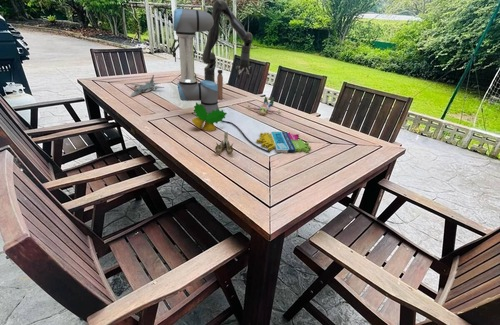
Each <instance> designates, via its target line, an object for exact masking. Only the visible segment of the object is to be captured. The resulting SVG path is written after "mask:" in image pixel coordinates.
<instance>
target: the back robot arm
mask: <svg viewBox="0 0 500 325" xmlns="http://www.w3.org/2000/svg"><path fill="white" fill-rule="evenodd" d="M222 15H224V16H225V17H226V18H227V20H228V21H229V23H230V26H231V28H232V29H233V30H234V31H235V32H236V33H237V35H238V37H239V39H240V40H241V41H242V42H243V44H242V45H241V50H240V51H241V52H240V58H239V65H236V66H235V72H234V73H235V74H236V75H237V76H236V77H237V79H238V80H240V79H241V78H240V77H241V73H242V72H243V73H244V72H245V73H246V80H249V79H250V75H252V71H253V66H251V65H250V58H251V56H250V53H251V47H252V43H253V34H252V33H251V32H250V31H246V30H245V26H244V25H243V24H242V22H241V21H240V20H239V19H238V18H237V16H235V14H234V13H233V11H232V9H231V8H230V6H229V4H228V3H227V2H226V1H225V0H215V1H214V2H213V5H212V10H211V16H212V17H213V20H214V24H213V27H212V28H211V29H210V30H208V33H207V37H206V42H205V46H204V49H203V52H202V56H201V60H202V62H203V64H207V65H206V66H205V67H204V80H207V81H212V82H215V80H216V79H215V69H216V61H217V60H216V59H217V57H216V55H215V53H214V52H213V51H212V50H213V48H214V47H215V46H216V44H217V43H218V41H219V38H220V35H221V34H220V33H221V27H220V19H221V16H222ZM194 75H195V79H196V80H197V82H200V81H201V80H200V79H198V78H197V74H196V73H195V72H194ZM215 83H216V82H215Z"/></svg>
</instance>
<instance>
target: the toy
mask: <svg viewBox="0 0 500 325" xmlns="http://www.w3.org/2000/svg"><path fill="white" fill-rule="evenodd" d="M274 100H275V98H274V97H271V98H270V101H268V97H267V96H266V95H265V96H264V99H263V104H261V105H260V107H251V106H250V105H248V106H246V110H254V111H258V112H257V113H258V114H259V115H261V116H265V115H267V112H270V113H276V114H279V115H282V113H283V111H281V109H278V110H274V109H270V107H271V106H273V105H274V102H275V101H274Z"/></svg>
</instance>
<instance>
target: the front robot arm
mask: <svg viewBox="0 0 500 325" xmlns="http://www.w3.org/2000/svg"><path fill="white" fill-rule="evenodd" d="M172 20H173V22H172V23H173V24H172V30H173V31H174V32H175V35H176V37H177V39H176V38H174V39H173V43H172V46H171V48H170V53H172V57H173V58H174V62H177V57H176V56H177V54H176V52H177V50H179V63H180V79H178V82H176V86H177V90H178V91H177V92H178V95H179V99H180V100H181V101H183V102H184V101H185V102H192V101H193V102H194V101H195V102H196V101H198V102H199V101H200V104H201V106H204V109H206V112H208V113H211V112H212V110H214V111H216V110H217V109H219V111H221V110H220V108H219V102H218V100H219V99H218V86H217V82H212V81H207V80H205V79H202V80H200V81H199V82H198V80H197V78H195V74H194V73H195V54H196V53H197V50H196V48H195V46H194V38H195V37H196V33H203V32H207V31H209V30H210V29H211V28H212V27H213V24H214V20H213V17H212V14H210V13H209V12H207V11H205V10H201V9H188V8H175V9H174V10H173V19H172ZM176 43H178V44H177V45H176ZM208 113H207V115H208ZM222 123H227V124H231V125H233V126H234V127H235V128H236V129H238V131H239V132H240V133H241V134H242V135H243V137H244V138H245V139H246V141H248V142H249V143H250V144H251V145H253V146H255V147H256V148H258V149H259V150H262V151H264V152H266V153H270V152H271V150H270V151H268V149H266V148H263V147H262V146H261V147H260V146H258V145H257V144H255V143H254V142H253V141H251V140H250V139H249V138H248V137H247V136H246V135H245V133H244V132H243V131H242V129H240V128H239V126H237V125H236V124H235V123H234V122H231V121H226V120H222Z"/></svg>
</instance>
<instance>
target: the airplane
mask: <svg viewBox="0 0 500 325" xmlns="http://www.w3.org/2000/svg"><path fill="white" fill-rule="evenodd" d="M154 76H155V75H154V74H152V77H151V78H150V80H149V81H144V83H145V84H137V83H130V85H131V86H133V89H135V90H134V91H133V92H132V93H131V94H130V97H135V96H137V95H139V94H141V93H148V92H150V91H151V90H153V91H157V90H158V88H159V89H162V88H163V89H165V86H156V85H161V82H160V83H159V82H158V83H157V82H155V81H154V78H155V77H154Z"/></svg>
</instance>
